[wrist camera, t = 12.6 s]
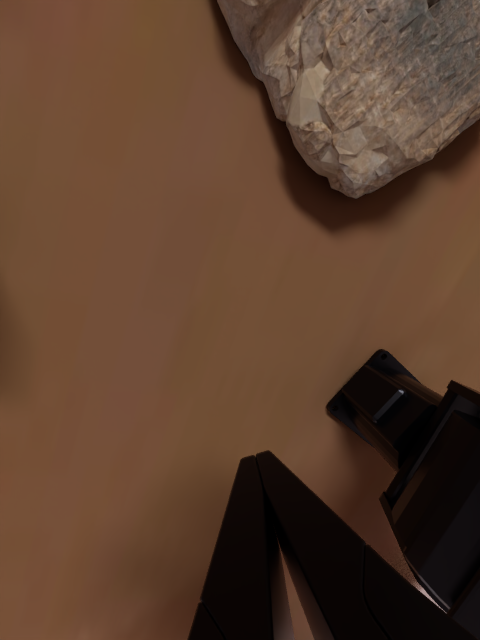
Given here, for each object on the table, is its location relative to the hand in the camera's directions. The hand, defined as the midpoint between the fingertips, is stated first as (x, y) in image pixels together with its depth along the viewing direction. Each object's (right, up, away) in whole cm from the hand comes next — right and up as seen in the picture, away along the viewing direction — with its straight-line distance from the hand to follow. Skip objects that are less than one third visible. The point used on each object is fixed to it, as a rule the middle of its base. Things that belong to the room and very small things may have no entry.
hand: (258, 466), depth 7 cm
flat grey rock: (+5, +22, +9) cm, 25 cm away
